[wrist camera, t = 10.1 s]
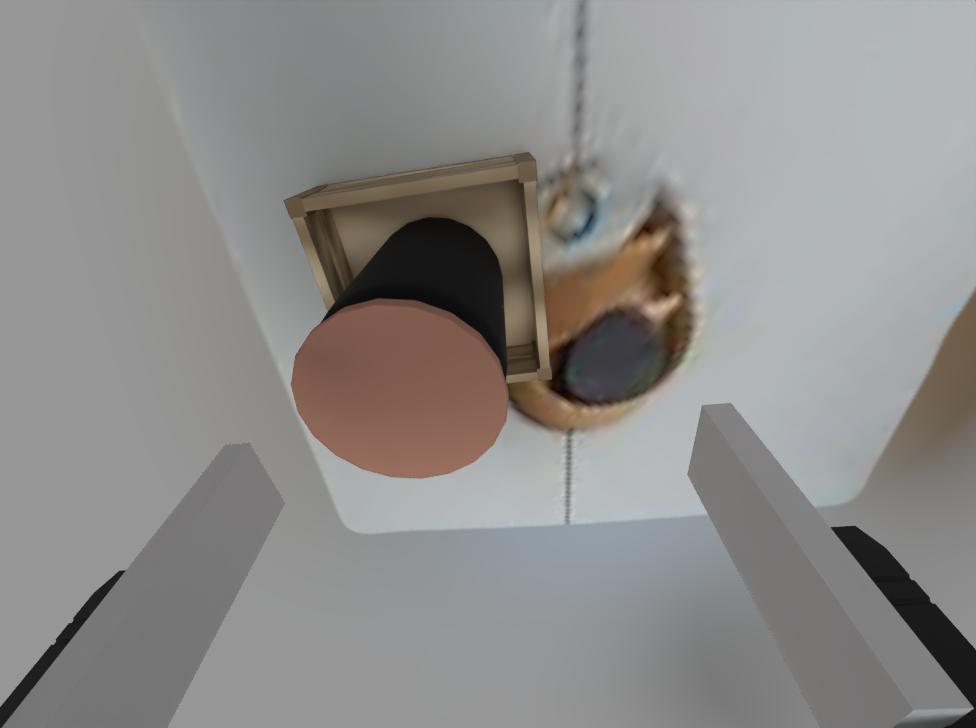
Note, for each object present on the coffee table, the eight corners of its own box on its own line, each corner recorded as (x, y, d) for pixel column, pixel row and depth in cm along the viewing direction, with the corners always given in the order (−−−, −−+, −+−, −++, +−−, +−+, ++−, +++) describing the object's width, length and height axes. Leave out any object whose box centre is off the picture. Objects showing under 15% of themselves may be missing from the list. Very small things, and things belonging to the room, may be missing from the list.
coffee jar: (442, 352, 39) (408, 505, 24) (354, 272, 35) (246, 397, 20) (527, 282, 35) (553, 412, 20) (440, 183, 31) (388, 251, 16)
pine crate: (316, 186, 32) (283, 200, 27) (528, 152, 31) (535, 160, 26) (377, 364, 41) (361, 400, 36) (544, 345, 40) (551, 379, 35)
